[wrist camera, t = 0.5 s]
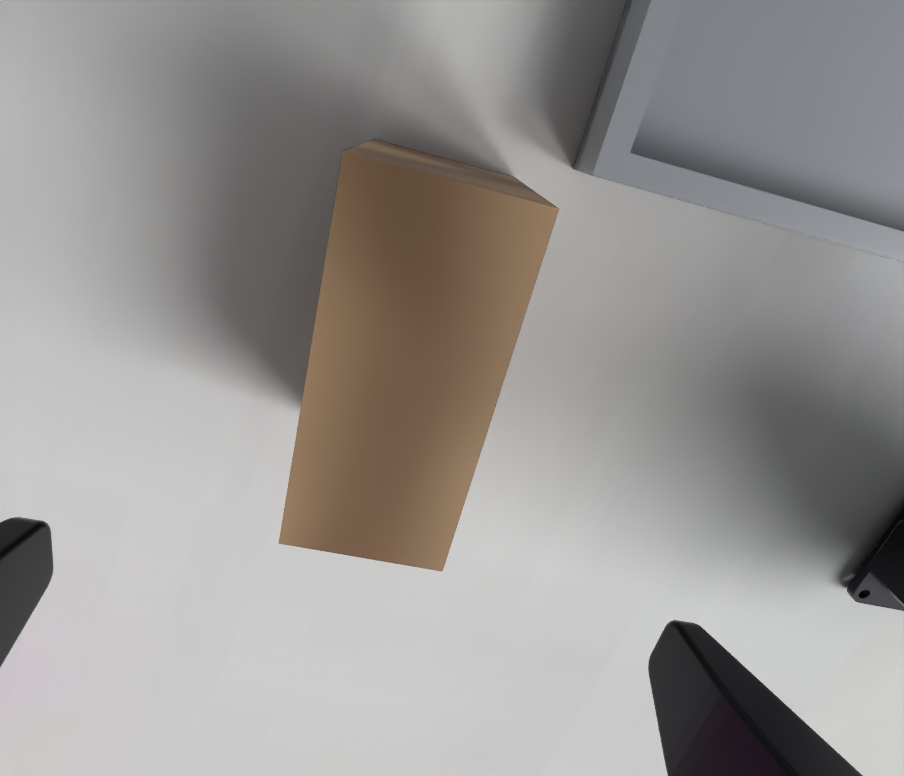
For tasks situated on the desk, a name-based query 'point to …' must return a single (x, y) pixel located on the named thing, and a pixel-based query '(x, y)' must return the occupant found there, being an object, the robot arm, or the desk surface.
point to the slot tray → (761, 113)
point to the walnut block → (409, 350)
